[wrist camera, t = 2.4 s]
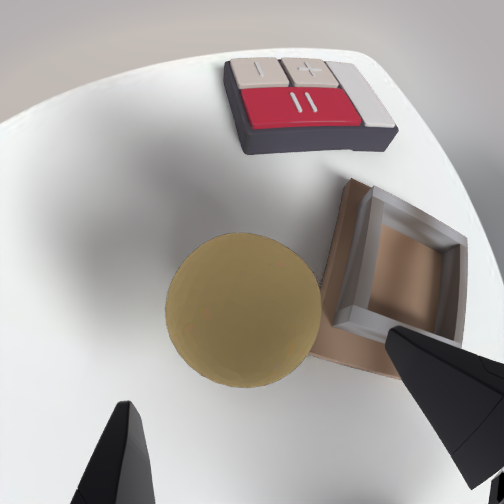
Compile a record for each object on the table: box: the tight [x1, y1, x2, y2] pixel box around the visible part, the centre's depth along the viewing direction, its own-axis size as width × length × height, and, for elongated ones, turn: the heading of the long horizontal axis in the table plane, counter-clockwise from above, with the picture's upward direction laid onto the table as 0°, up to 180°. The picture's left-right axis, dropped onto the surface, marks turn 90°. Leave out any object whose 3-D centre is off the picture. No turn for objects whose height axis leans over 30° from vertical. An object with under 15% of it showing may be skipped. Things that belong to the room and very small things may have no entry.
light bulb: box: [165, 233, 322, 388], centre depth 14 cm, size 6×6×10 cm
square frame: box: [308, 178, 468, 380], centre depth 19 cm, size 12×14×4 cm
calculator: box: [224, 58, 399, 155], centre depth 25 cm, size 11×4×15 cm
